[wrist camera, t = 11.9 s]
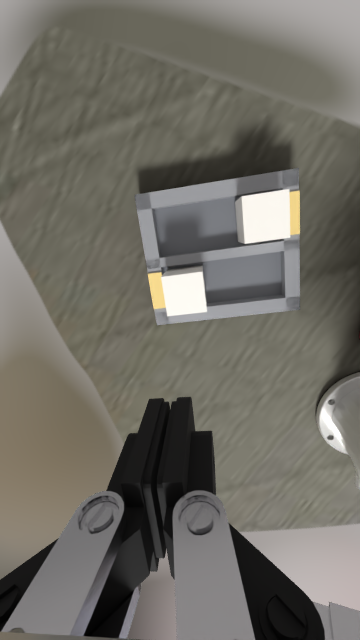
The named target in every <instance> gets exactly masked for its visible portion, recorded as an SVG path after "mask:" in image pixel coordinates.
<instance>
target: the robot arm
mask: <svg viewBox="0 0 360 640" xmlns="http://www.w3.org/2000/svg"><path fill="white" fill-rule="evenodd" d="M316 421H317V426H318V429H319V431H320V433H321V434H322V436H323V438H324V439H325V440H326V442H327V443H328V444H329V445H330V446H332V447H333V448H334V449H336V450H338V451H340V452H342V453H345V454H348V455H349V456H350V458H351V459H352V461H353V465H354V467H355V468H356V471H355V486H356V487H357V488H358V489H360V372H358V373H355V374H352V375H349V376H347V377H345V378H343V379H341V380H339V381H338V382H336V383H335V384H334V385H333V386H331V387H330V388H329V389H328V390H327V392H326V393H325V394H324V395H323V397H322V399H321V400H320V402H319V405H318V408H317V413H316ZM166 548H167V553H168V560H169V565H170V570H171V576H172V577H173V578H174V580H175V602H176V632H177V640H360V611H358V610H354V609H350V608H348V607H344V606H341V605H338V604H334V603H331V602H329V607H328V606H325V605H322V604H318V603H315V602H312V601H311V600H310V599H309V597H308V596H307V595H306V594H305V593H304V592H303V591H302V590H301V589H300V588H299V587H298V586H297V585H295V583H294V582H292V581H291V580H290V579H289V578H288V577H287V576H286V575H285V574H284V573H283V572H281V571H280V570H279V569H278V568H277V567H276V566H275V565H274V564H273V563H272V562H271V561H270V560H268V559H267V558H266V557H265V556H264V555H263V554H262V553H261V552H260V551H259V550H257V549H256V548H255V547H254V546H253V545H252V544H251V543H250V542H249V541H248V540H247V539H246V538H244V537H243V536H242V535H241V534H240V533H239V532H238V531H237V530H236V529H235V528H234V527H233V526H231V525H230V524H229V523H228V519H227V515H226V510H225V508H224V505H223V503H222V502H221V500H220V499H219V498H218V497H217V496H216V483H215V461H214V447H213V437H212V431H195V425H194V416H193V407H192V399H191V397H179V398H177V401H173V402H172V405H171V409H170V406H169V402H164V399H163V398H158V399H149V401H148V404H147V407H146V410H145V413H144V416H143V419H142V422H141V425H140V428H139V431H138V433H130V434H129V435H128V437H127V439H126V441H125V444H124V446H123V449H122V452H121V454H120V457H119V460H118V462H117V465H116V467H115V470H114V472H113V475H112V478H111V480H110V483H109V486H108V489H107V491H102V492H99V493H95V494H94V495H92V496H90V497H88V498H87V499H86V500H85V501H84V502H82V503H81V504H80V506H79V507H78V508H77V510H76V511H75V513H74V514H73V516H72V518H71V519H70V521H69V523H68V524H67V526H66V527H65V529H64V531H63V532H62V534H61V535H60V537H59V538H58V539H57V540H55V541H54V542H53V543H51V544H50V545H48V546H47V547H46V548H44V549H43V550H41V551H40V552H39V553H37V554H36V555H34V556H33V557H32V558H30V559H29V560H27V561H26V562H25V563H23V564H22V565H20V566H19V567H18V568H16V569H15V570H13V571H12V572H11V573H9V574H8V575H6V576H5V577H4V578H2V579H1V580H0V640H137V639H127V636H128V633H129V629H130V626H131V623H132V619H133V616H134V613H135V610H136V606H137V603H138V600H139V596H140V591H141V582H143V581H144V580H145V579H146V577H148V576H149V574H150V571H157V570H158V562H159V558H164V557H165V553H166Z"/></svg>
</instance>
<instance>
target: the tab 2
mask: <svg viewBox="0 0 360 640" xmlns="http://www.w3.org/2000/svg"><path fill="white" fill-rule="evenodd" d="M235 208H236V222H237V235H238V242H241V243H244V244H248V243H255V242H262V241H269V240H277V239H284V238H290V195H289V189H286V190H279V191H273V192H267V193H260V194H254V195H247V196H242V197H240V198H239V199H238V200H237V201H235Z"/></svg>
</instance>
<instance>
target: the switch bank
mask: <svg viewBox="0 0 360 640" xmlns="http://www.w3.org/2000/svg"><path fill="white" fill-rule="evenodd" d="M286 189H289V195H290V238H284V239H277V240H269V241H262V242H255V243H248V244H244V243H241V242H238V235H237V222H236V208H235V201H237V200H238V199H239V198H240V197H242V196H247V195H254V194H260V193H267V192H273V191H279V190H286ZM135 201H136V207H137V212H138V218H139V224H140V230H141V235H142V241H143V247H144V253H145V259H146V264H147V270H148V278H149V284H150V290H151V295H152V301H153V307H154V311H155V316H156V322H157V325H163V324H172V323H181V322H190V321H199V320H209V319H218V318H227V317H236V316H245V315H254V314H264V313H273V312H282V311H291V310H300V258H299V234H300V191H299V168H295V169H289V170H283V171H277V172H271V173H265V174H259V175H253V176H247V177H240V178H234V179H228V180H222V181H216V182H210V183H204V184H198V185H192V186H186V187H180V188H173V189H167V190H161V191H155V192H149V193H143V194H137V195H135ZM199 265H202V266H203V275H204V284H205V293H206V303H207V312H202V313H193V314H184V315H175V316H167V311H166V305H165V299H164V293H163V286H162V280H161V276H162V275H163V274H164V273H165V272H166V270H169V269H176V268H184V267H192V266H199Z"/></svg>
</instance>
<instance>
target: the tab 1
mask: <svg viewBox="0 0 360 640" xmlns="http://www.w3.org/2000/svg"><path fill="white" fill-rule="evenodd" d="M161 280H162V286H163V293H164V299H165V305H166V311H167V316H175V315H184V314H193V313H202V312H207V303H206V293H205V284H204V275H203V266H202V265H199V266H192V267H184V268H176V269H169V270H166V272H165V273H164V274H163V275H162V276H161Z"/></svg>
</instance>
